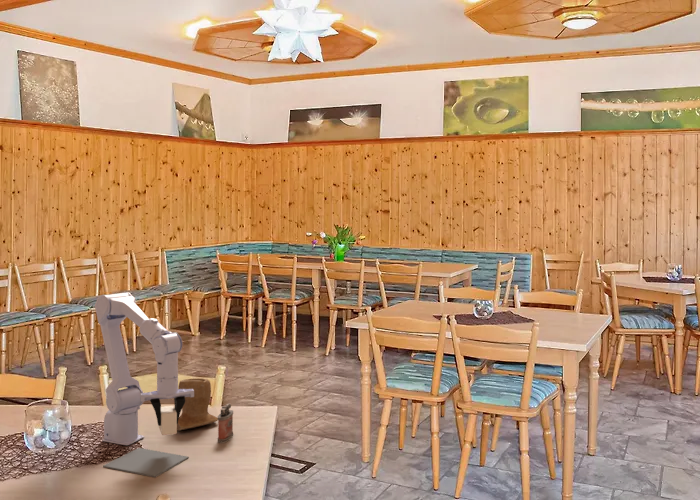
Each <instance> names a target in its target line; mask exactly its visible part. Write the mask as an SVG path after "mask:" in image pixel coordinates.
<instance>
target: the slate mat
mask: <svg viewBox="0 0 700 500" xmlns="http://www.w3.org/2000/svg"><path fill="white" fill-rule="evenodd" d="M189 458H190V457H189V456H187V455H183V454H182V455H181V454H176V453H170V452H165V451H160V450H159V451H158V450H154V449H148V448H142V447H138V448H136V449H133V450H132V451H130V452H127V453H126V454H123V455H122V456H120V457H118V458H115V459H113V460H112V461H109V462H108V463H105V464H104V465H103V468H106V469H110V470H116V471H121V472H127V473H131V474H137V475H141V476H148V477H152V478H156V477H158V476H160V475H162V474H164V473H165V472H167V471H168V470H169V471H170V470H171V469H172V468H174V467H176V466H177V465H179V464H181V463H182V462H185V461H186V460H188V459H189Z"/></svg>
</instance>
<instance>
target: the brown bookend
mask: <svg viewBox="0 0 700 500" xmlns="http://www.w3.org/2000/svg"><path fill="white" fill-rule="evenodd" d="M178 389H193V390H194V397H185V404H184V405H183V407H182V410H181V413H180V415H179V419H178V424H177V432H178V431H179V432H180V431H185V430H190V429H194V428H198V427H202V426H205V425H209V424H213V423H216V422H218V416H214V415H213V414H211V413H210V412H209V411H208V410H209V403H210V401H211V395H212V385H211V381H210V380H209V379H208V378H204V377H201V378H200V377H199V378H197V377H195V378H194V377H193V378H187V379H181V380H179V381H178Z"/></svg>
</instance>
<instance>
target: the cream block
mask: <svg viewBox="0 0 700 500" xmlns="http://www.w3.org/2000/svg"><path fill="white" fill-rule="evenodd" d="M158 428H159V431H160V434H161V436H167V435H169V436H170V435H176V434H178V430H177V412H176V410H175V405H165V406H161V426H158Z"/></svg>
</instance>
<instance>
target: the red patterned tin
mask: <svg viewBox="0 0 700 500" xmlns="http://www.w3.org/2000/svg"><path fill="white" fill-rule="evenodd" d="M231 408H232V404H231V403H227V404H225V405H222V406H221V409H220V413H219V414H218V415H217V418H218V421H217V422H218V423H217V425H218V426H217V431H218V432H217V433H218V434H217V442H218V443H226V442H228V441H229V440H231V439H232V438H233V437H234V431H233V422H234V419H233V418H234V417H233V415H234V410H231Z"/></svg>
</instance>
